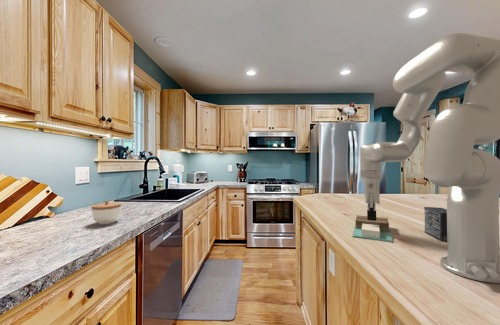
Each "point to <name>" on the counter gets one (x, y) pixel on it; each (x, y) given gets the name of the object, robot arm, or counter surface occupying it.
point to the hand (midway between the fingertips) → (371, 219)
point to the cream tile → (370, 230)
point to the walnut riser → (373, 223)
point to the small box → (436, 222)
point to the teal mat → (383, 237)
